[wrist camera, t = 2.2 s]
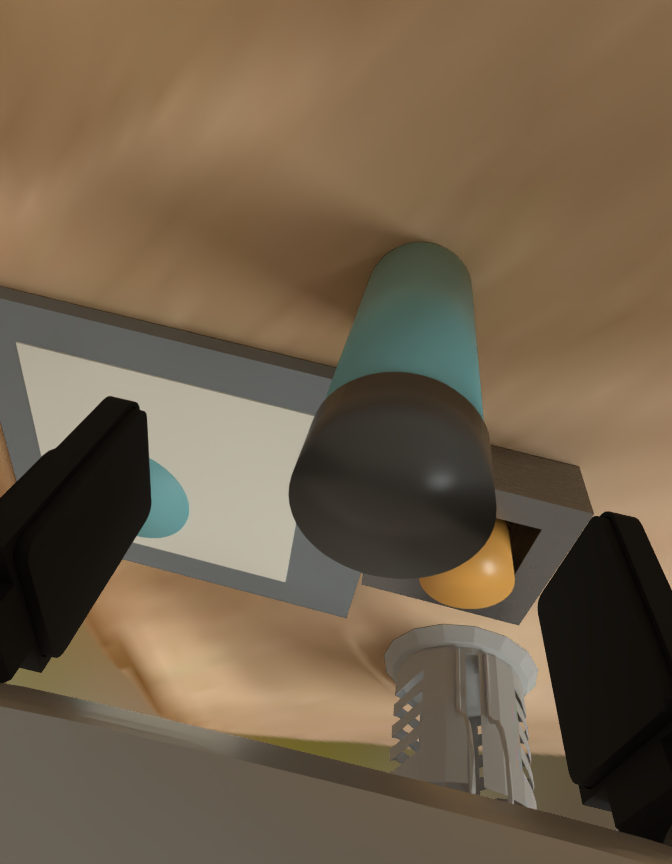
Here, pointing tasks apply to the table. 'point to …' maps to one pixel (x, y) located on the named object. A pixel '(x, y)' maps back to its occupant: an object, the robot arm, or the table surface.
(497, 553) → the button
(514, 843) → the robot arm
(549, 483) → the button housing
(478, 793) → the french press
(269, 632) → the table surface
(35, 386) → the drawing board
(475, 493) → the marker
